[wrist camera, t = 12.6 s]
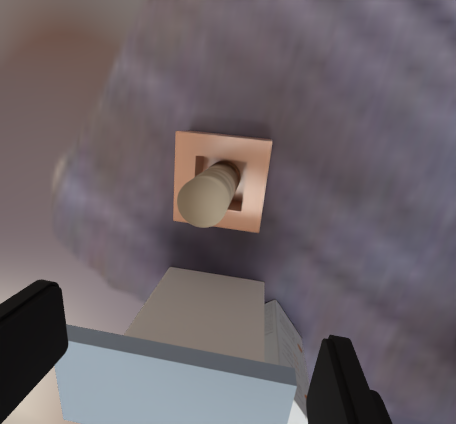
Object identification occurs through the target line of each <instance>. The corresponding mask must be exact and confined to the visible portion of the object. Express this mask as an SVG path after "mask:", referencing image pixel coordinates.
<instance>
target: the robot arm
mask: <svg viewBox="0 0 456 424" xmlns="http://www.w3.org/2000/svg"><path fill="white" fill-rule="evenodd" d="M67 349H68V335H67V328H66V320H65V313H64V305H63V297H62V290H61V288H60V287H59V285H58V284H57V283H56V282H51V281H46V280H37V281H35V282H34V283H32V284H30V285H29V286H27V287H26V288H24V289H23V290H21V291H20V292H18V293H17V294H15V295H13V296H12V297H11V298H9V299H7V300H6V301H4V302H3V303H1V304H0V424H1V423H2V422H3V421H4V420H5V419H6V418H7V416H9V415H10V414H11V412H12V411H13V410H14V409H15V408H16V407H17V406H18V405H19V403H21V401H22V400H23V399H24V398H25V397H26V396H27V395H28V394H29V393H30V391H31V390H32V389H33V388H34V387H35V386H36V385H37V384H38V383H39V382H40V381H41V379H42V378H43V377H44V376H45V375H46V374H47V373H48V372H49V371H50V370H51V369H52V368H53V366H54V365H55V364H56V363H57V362H58V361H59V360H60V359H61V358H62V357H63V355H64V354H65V353H66V351H67ZM306 411H307V419H308V424H392V422H391V419H390V417H389V414H388V412H387V410H386V407H385V405H384V402H383V400H382V398H381V396H380V395H379V394H378V393H377V392H376V391H374V390H370V389H369V386H368V384H367V381H366V379H365V376H364V373H363V371H362V368H361V366H360V363H359V360H358V358H357V355H356V353H355V350H354V347H353V345H352V342H351V340H350V339H349V338H345V337H340V336H334V335H330V336H329V337H328V339H325V338H324V339H323V340H322V343H321V347H320V350H319V354H318V358H317V361H316V365H315V368H314V372H313V376H312V379H311V383H310V386H309V390H308V394H307V398H306Z"/></svg>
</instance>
